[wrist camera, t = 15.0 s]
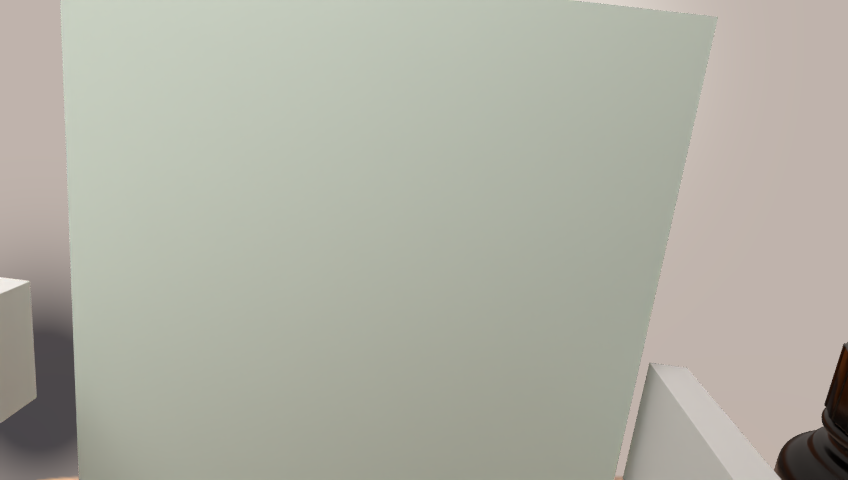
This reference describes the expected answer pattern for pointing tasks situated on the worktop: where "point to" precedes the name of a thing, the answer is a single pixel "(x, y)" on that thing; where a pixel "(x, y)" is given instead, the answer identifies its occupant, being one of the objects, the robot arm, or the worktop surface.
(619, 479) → the worktop surface
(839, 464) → the ink bottle
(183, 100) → the pale green panel
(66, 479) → the worktop surface
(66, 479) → the worktop surface
